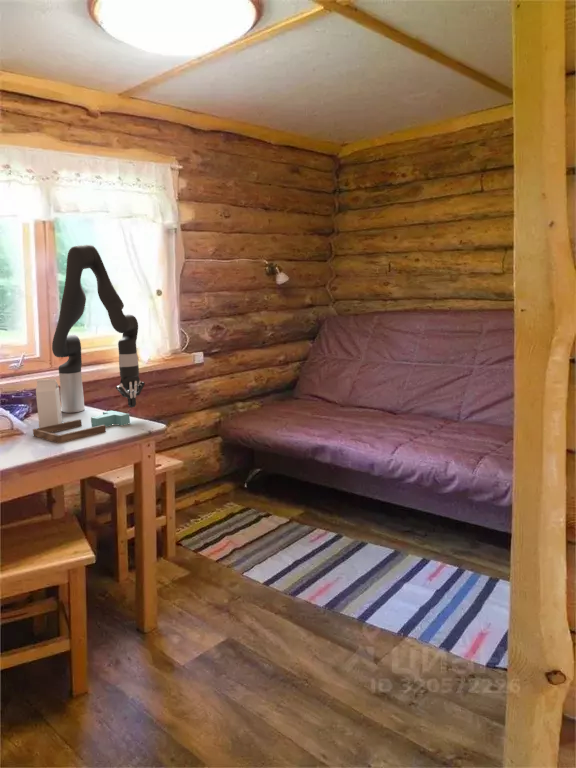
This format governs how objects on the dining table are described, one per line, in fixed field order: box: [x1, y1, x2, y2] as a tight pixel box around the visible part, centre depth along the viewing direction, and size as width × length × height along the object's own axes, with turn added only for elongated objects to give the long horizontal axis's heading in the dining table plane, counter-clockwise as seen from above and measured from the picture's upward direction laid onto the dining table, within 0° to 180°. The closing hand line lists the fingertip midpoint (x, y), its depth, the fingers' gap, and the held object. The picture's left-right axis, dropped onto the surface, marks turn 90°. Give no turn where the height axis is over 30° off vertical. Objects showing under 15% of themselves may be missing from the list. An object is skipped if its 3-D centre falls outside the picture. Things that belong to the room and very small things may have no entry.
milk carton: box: [35, 378, 63, 428], centre depth 234 cm, size 7×7×19 cm
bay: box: [32, 418, 107, 444], centre depth 224 cm, size 17×19×2 cm
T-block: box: [90, 410, 131, 428], centre depth 237 cm, size 12×12×4 cm
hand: (132, 406), depth 245 cm, fingers closed
